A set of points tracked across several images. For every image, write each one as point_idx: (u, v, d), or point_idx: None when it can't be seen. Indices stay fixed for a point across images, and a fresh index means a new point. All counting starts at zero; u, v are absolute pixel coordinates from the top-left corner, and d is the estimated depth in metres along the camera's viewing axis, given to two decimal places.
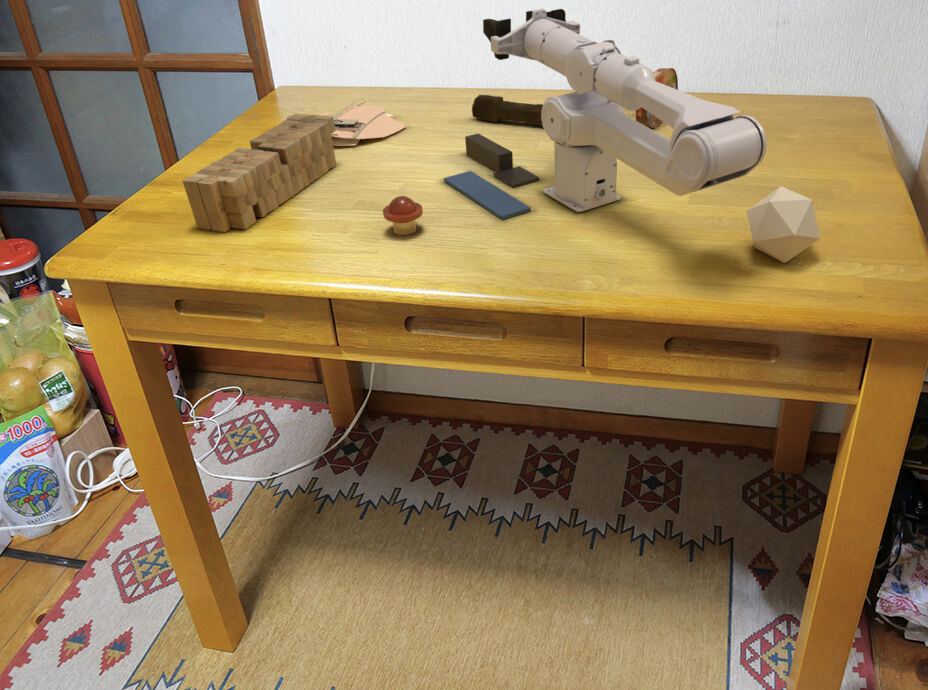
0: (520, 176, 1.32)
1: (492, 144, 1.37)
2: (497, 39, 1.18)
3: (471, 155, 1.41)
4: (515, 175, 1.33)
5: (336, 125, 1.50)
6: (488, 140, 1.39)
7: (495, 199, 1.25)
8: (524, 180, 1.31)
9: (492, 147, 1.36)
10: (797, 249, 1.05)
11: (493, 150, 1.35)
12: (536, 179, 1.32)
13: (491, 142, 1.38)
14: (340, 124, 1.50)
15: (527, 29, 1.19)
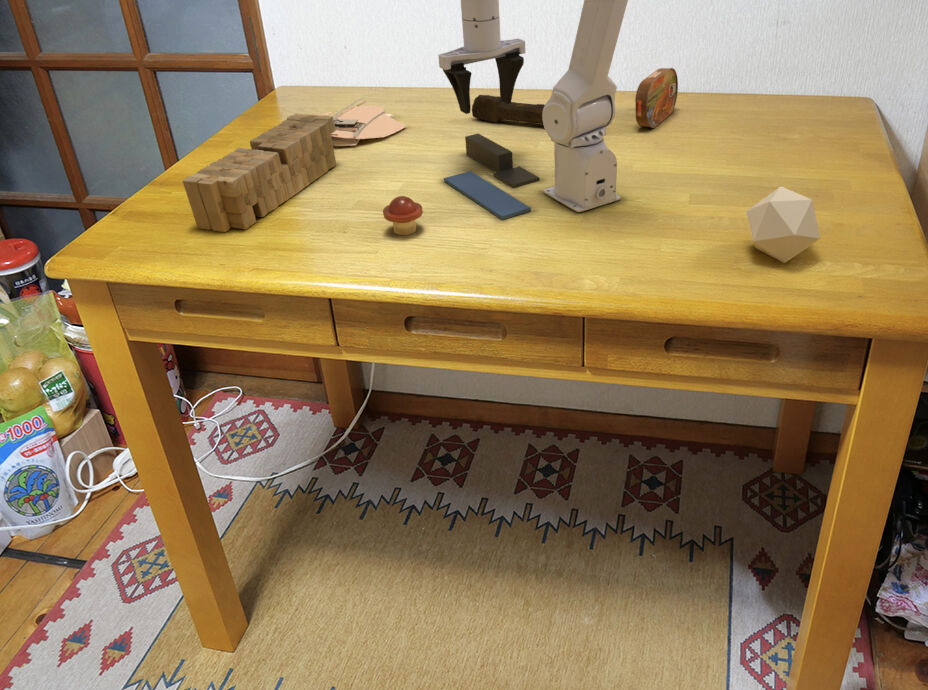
0: (520, 176, 1.32)
1: (492, 144, 1.37)
2: None
3: (471, 155, 1.41)
4: (515, 175, 1.33)
5: (336, 125, 1.50)
6: (488, 140, 1.39)
7: (495, 199, 1.25)
8: (524, 180, 1.31)
9: (492, 147, 1.36)
10: (797, 249, 1.05)
11: (493, 150, 1.35)
12: (536, 179, 1.32)
13: (491, 142, 1.38)
14: (340, 124, 1.50)
15: (464, 46, 1.28)
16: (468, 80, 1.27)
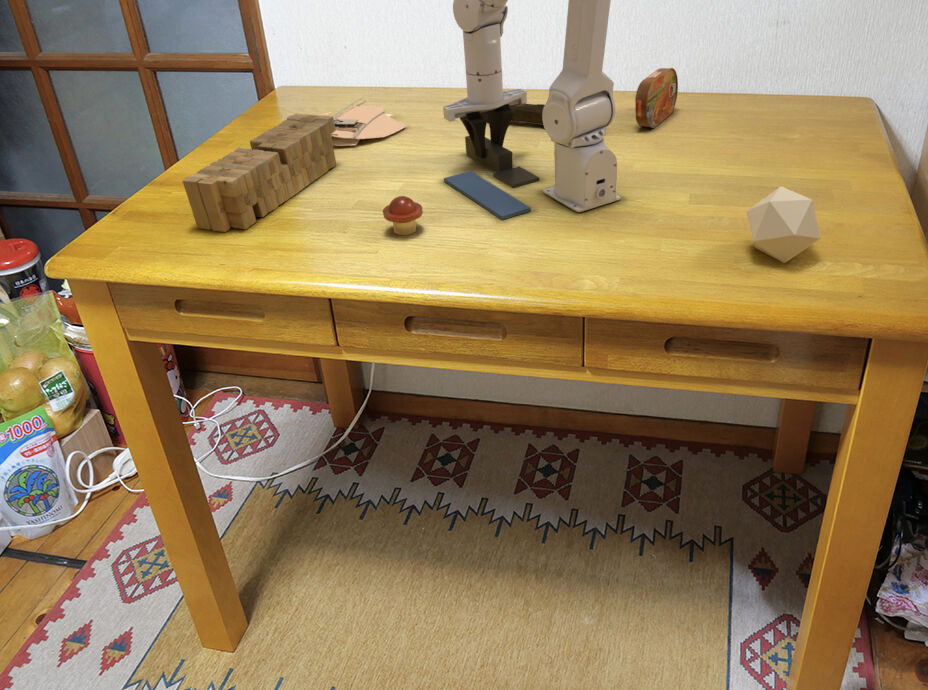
0: (520, 176, 1.32)
1: (492, 144, 1.37)
2: None
3: (471, 155, 1.41)
4: (515, 175, 1.33)
5: (336, 125, 1.50)
6: (488, 140, 1.38)
7: (495, 199, 1.25)
8: (524, 180, 1.31)
9: (492, 147, 1.36)
10: (797, 249, 1.05)
11: (492, 150, 1.35)
12: (536, 179, 1.32)
13: (491, 142, 1.38)
14: (340, 124, 1.50)
15: (467, 97, 1.33)
16: (484, 127, 1.33)
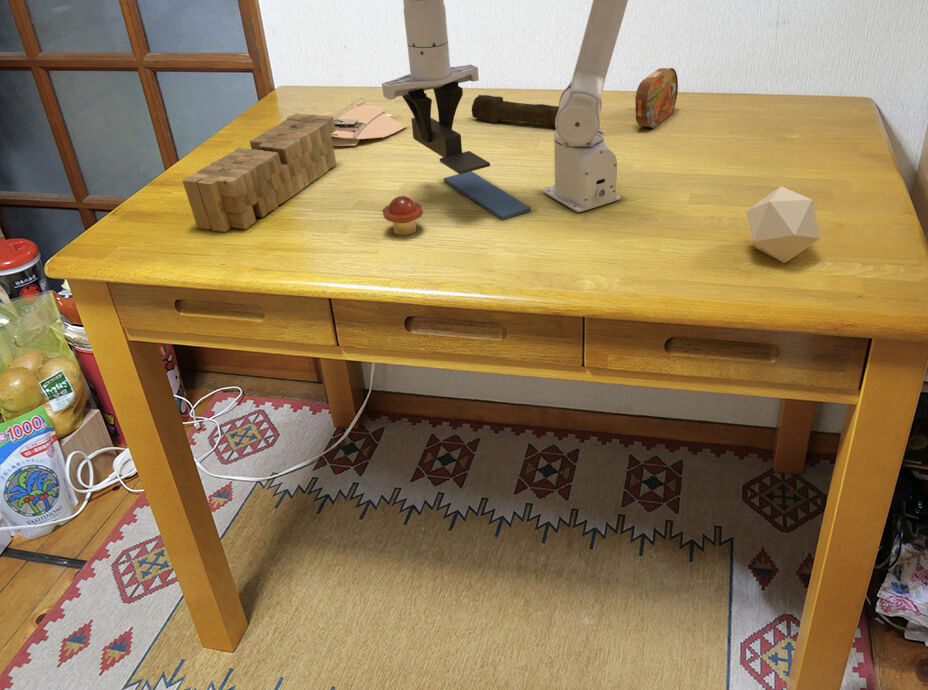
0: (468, 162, 1.18)
1: (439, 127, 1.23)
2: None
3: (418, 139, 1.27)
4: (463, 160, 1.19)
5: (336, 125, 1.50)
6: (436, 122, 1.24)
7: (495, 199, 1.25)
8: (472, 166, 1.17)
9: (439, 130, 1.21)
10: (797, 249, 1.05)
11: (439, 133, 1.20)
12: (486, 165, 1.17)
13: (439, 124, 1.23)
14: (340, 124, 1.50)
15: (411, 73, 1.19)
16: (429, 107, 1.18)
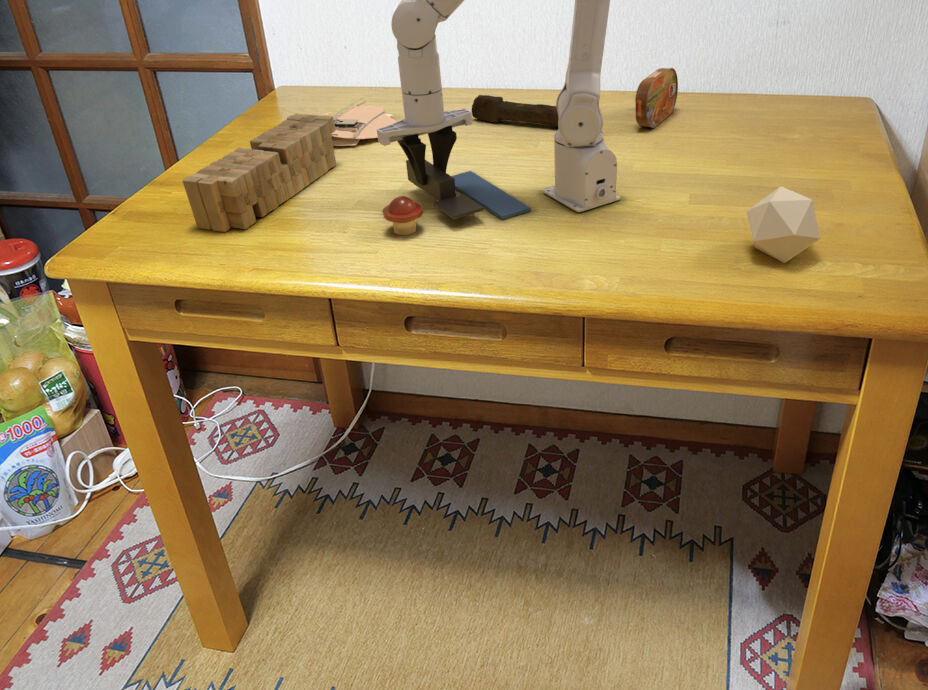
0: (462, 206, 1.20)
1: (433, 170, 1.24)
2: None
3: (412, 181, 1.28)
4: (457, 205, 1.20)
5: (336, 125, 1.50)
6: (430, 165, 1.26)
7: (495, 199, 1.25)
8: (466, 211, 1.18)
9: (433, 173, 1.23)
10: (797, 249, 1.05)
11: (433, 177, 1.22)
12: (480, 209, 1.19)
13: (433, 167, 1.25)
14: (340, 124, 1.50)
15: None
16: (423, 152, 1.20)
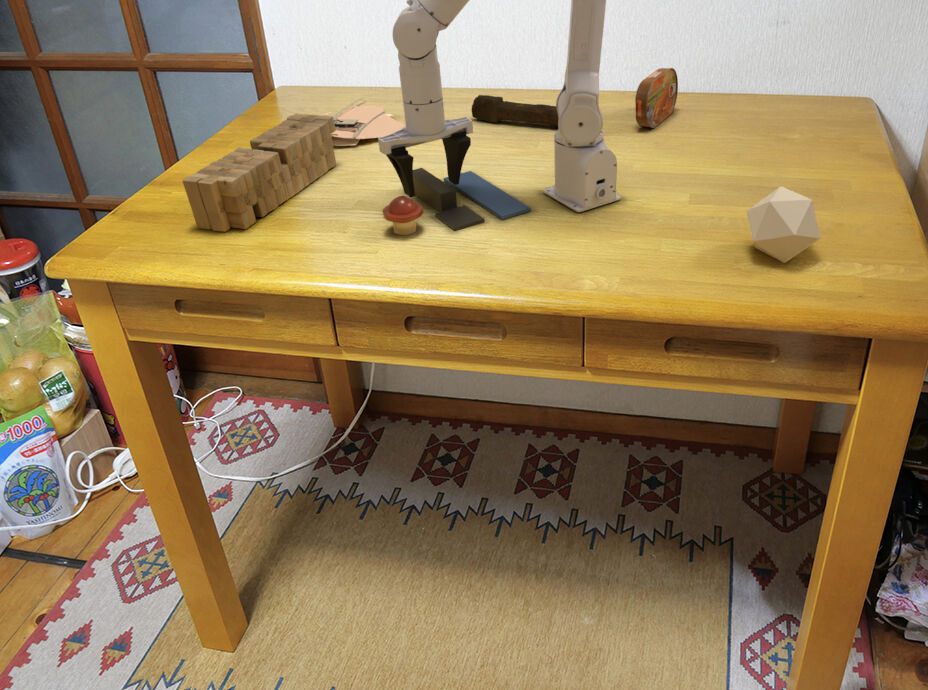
0: (463, 217, 1.21)
1: (434, 181, 1.25)
2: None
3: None
4: (458, 216, 1.21)
5: (336, 125, 1.50)
6: (431, 176, 1.27)
7: (495, 199, 1.25)
8: (467, 222, 1.19)
9: (434, 185, 1.24)
10: (797, 249, 1.05)
11: (434, 188, 1.23)
12: (481, 221, 1.20)
13: (434, 178, 1.26)
14: (340, 124, 1.50)
15: None
16: (410, 164, 1.20)
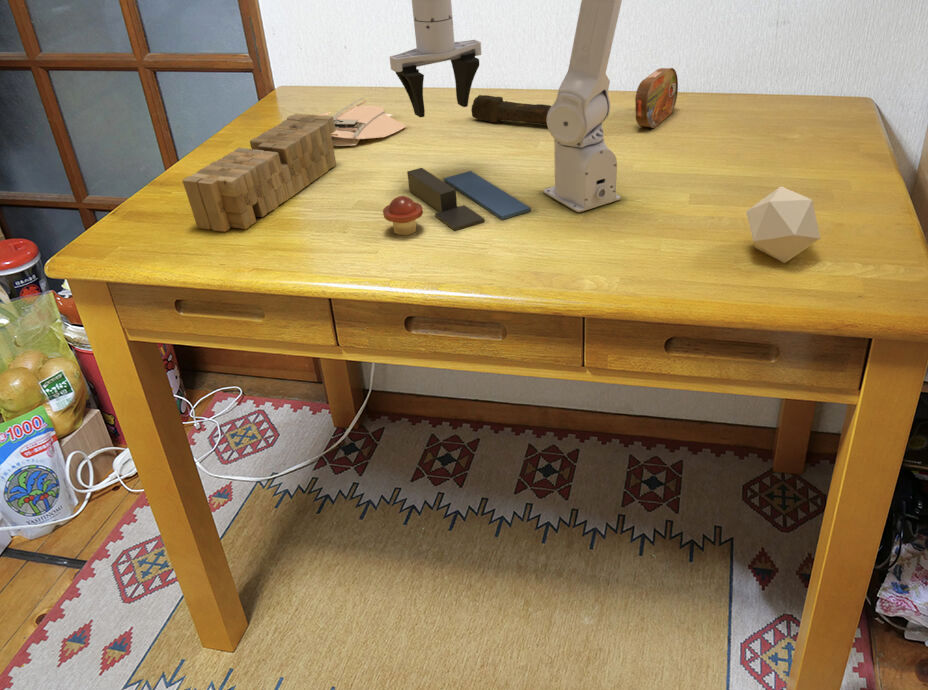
0: (463, 217, 1.21)
1: (434, 181, 1.25)
2: None
3: (414, 191, 1.29)
4: (458, 216, 1.21)
5: (336, 125, 1.50)
6: (431, 176, 1.27)
7: (495, 199, 1.25)
8: (467, 222, 1.19)
9: (434, 185, 1.24)
10: (797, 249, 1.05)
11: (434, 188, 1.23)
12: (481, 221, 1.20)
13: (434, 178, 1.26)
14: (340, 124, 1.50)
15: (417, 47, 1.24)
16: (421, 82, 1.23)
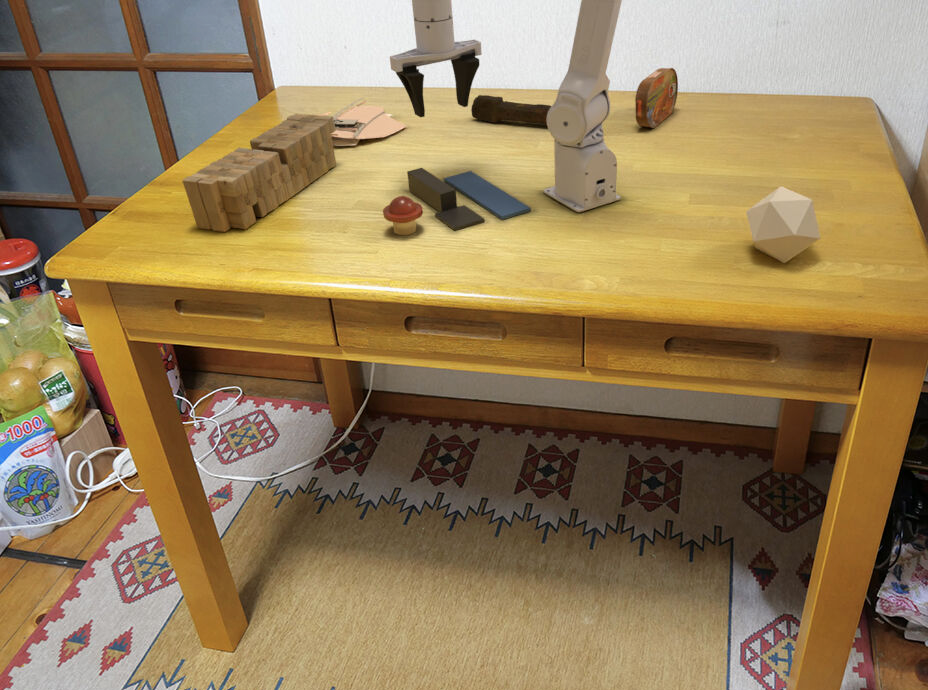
0: (463, 217, 1.21)
1: (434, 181, 1.25)
2: None
3: (414, 191, 1.29)
4: (458, 216, 1.21)
5: (336, 125, 1.50)
6: (431, 176, 1.27)
7: (495, 199, 1.25)
8: (467, 222, 1.19)
9: (434, 185, 1.24)
10: (797, 249, 1.05)
11: (434, 188, 1.23)
12: (481, 221, 1.20)
13: (434, 178, 1.26)
14: (340, 124, 1.50)
15: (417, 47, 1.24)
16: (421, 82, 1.23)
